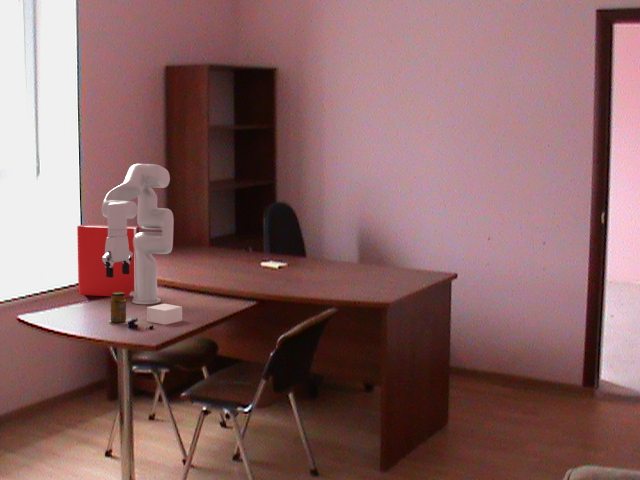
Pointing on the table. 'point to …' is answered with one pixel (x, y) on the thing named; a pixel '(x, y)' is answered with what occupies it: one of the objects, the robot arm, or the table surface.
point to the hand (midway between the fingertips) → (117, 275)
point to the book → (92, 264)
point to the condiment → (118, 309)
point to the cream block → (164, 314)
